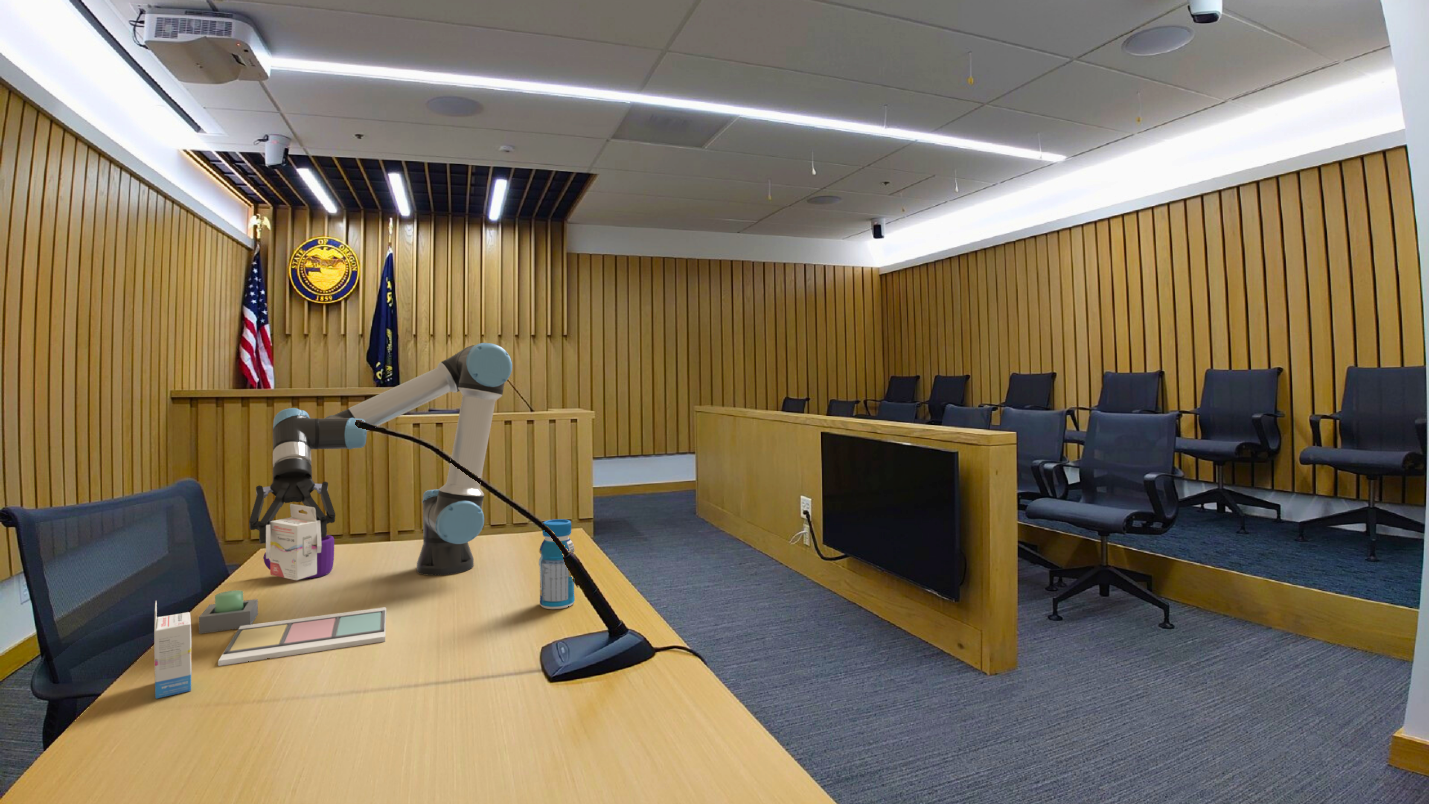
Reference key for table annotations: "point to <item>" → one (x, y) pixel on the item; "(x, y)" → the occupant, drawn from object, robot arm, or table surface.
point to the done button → (229, 601)
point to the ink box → (172, 654)
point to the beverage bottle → (555, 567)
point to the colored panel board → (305, 635)
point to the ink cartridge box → (294, 544)
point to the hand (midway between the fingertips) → (294, 552)
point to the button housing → (227, 618)
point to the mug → (319, 557)
